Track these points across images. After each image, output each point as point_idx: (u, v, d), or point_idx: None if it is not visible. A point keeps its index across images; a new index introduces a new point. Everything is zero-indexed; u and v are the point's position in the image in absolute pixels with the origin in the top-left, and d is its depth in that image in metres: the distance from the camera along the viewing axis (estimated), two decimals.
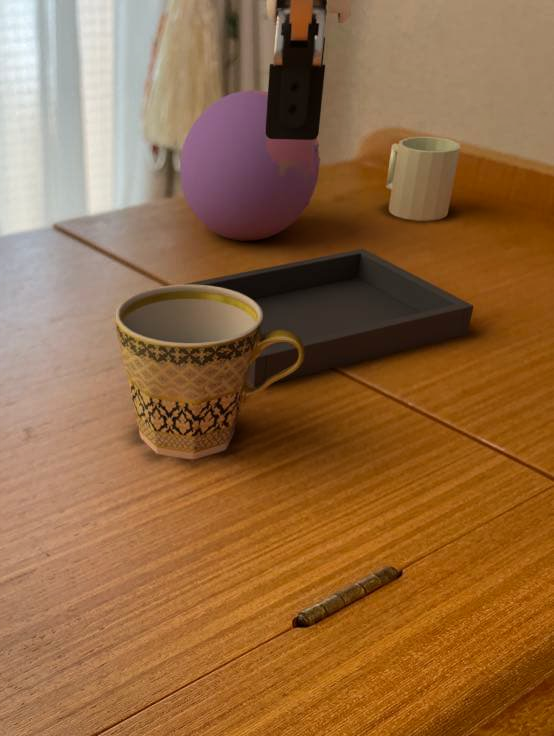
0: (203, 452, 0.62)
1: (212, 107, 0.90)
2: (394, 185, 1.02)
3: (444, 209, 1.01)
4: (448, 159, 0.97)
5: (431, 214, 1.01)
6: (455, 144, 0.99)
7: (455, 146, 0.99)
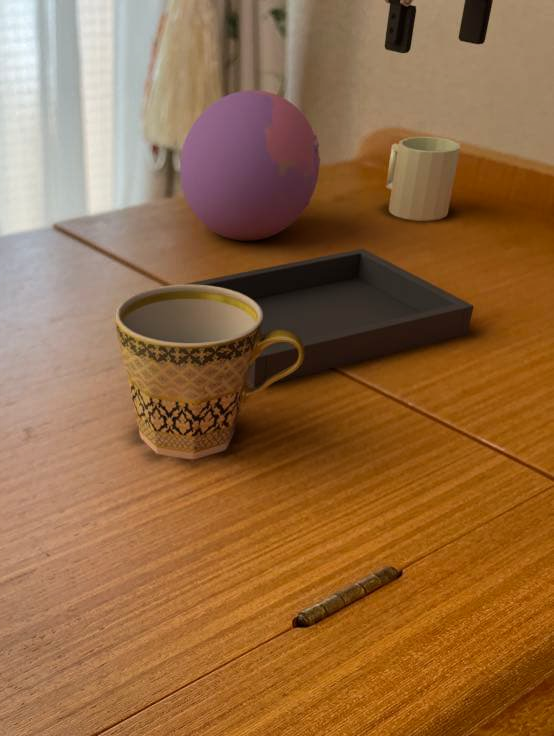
0: (203, 452, 0.62)
1: (212, 107, 0.90)
2: (394, 185, 1.02)
3: (444, 209, 1.01)
4: (448, 159, 0.97)
5: (431, 214, 1.01)
6: (455, 144, 0.99)
7: (455, 146, 0.99)
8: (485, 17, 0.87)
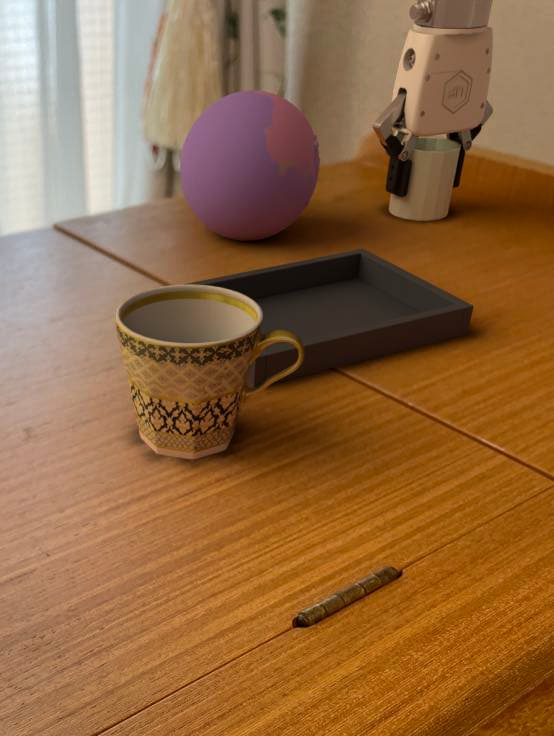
0: (203, 452, 0.62)
1: (212, 107, 0.90)
2: None
3: (444, 209, 1.01)
4: (448, 159, 0.97)
5: (431, 214, 1.01)
6: (455, 144, 0.99)
7: (455, 146, 0.99)
8: (459, 166, 1.01)
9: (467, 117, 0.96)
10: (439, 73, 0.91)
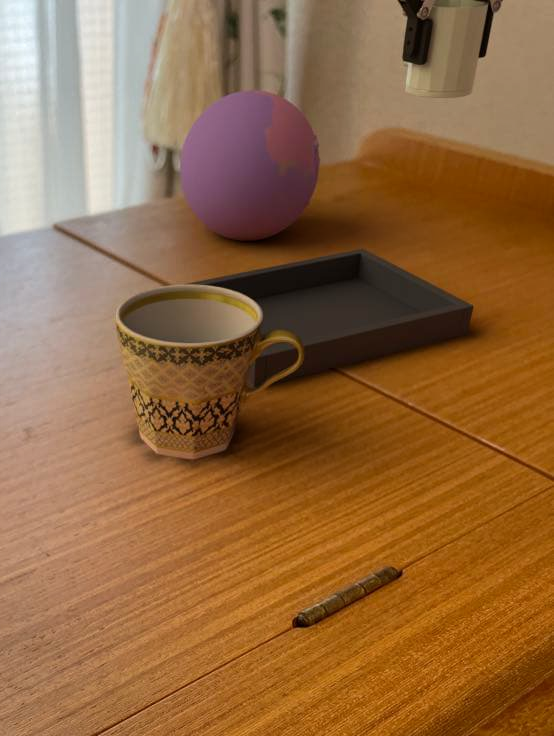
0: (203, 452, 0.62)
1: (212, 107, 0.90)
2: None
3: (469, 79, 0.89)
4: (474, 17, 0.85)
5: (454, 85, 0.89)
6: (482, 3, 0.87)
7: None
8: (486, 31, 0.89)
9: None
10: None
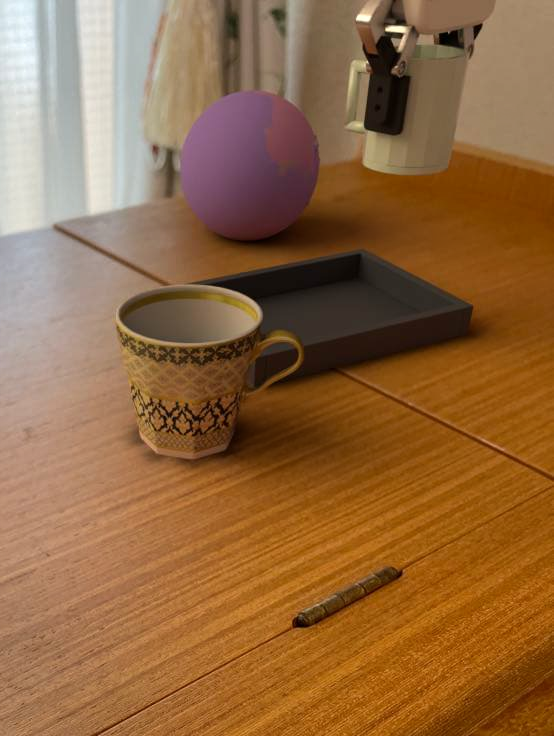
0: (203, 452, 0.62)
1: (212, 107, 0.90)
2: None
3: (450, 148, 0.68)
4: (459, 70, 0.64)
5: (436, 158, 0.67)
6: (455, 50, 0.66)
7: (455, 53, 0.66)
8: None
9: (480, 3, 0.63)
10: None
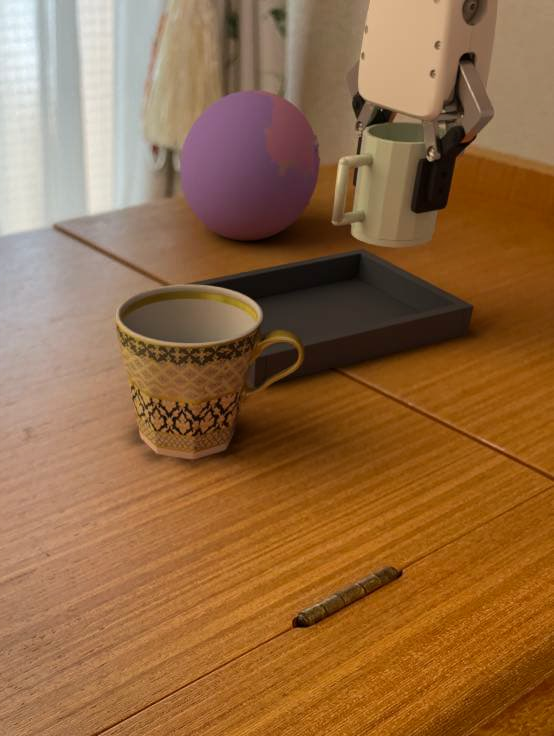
0: (203, 452, 0.62)
1: (212, 107, 0.90)
2: None
3: None
4: None
5: None
6: (396, 124, 0.71)
7: (397, 127, 0.71)
8: None
9: None
10: None
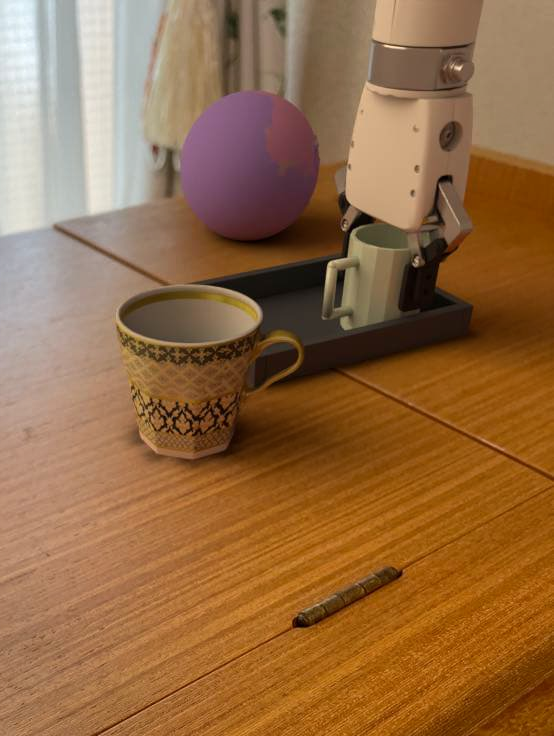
0: (203, 452, 0.62)
1: (212, 107, 0.90)
2: (396, 301, 0.74)
3: None
4: None
5: None
6: (382, 225, 0.76)
7: (383, 227, 0.76)
8: None
9: None
10: None
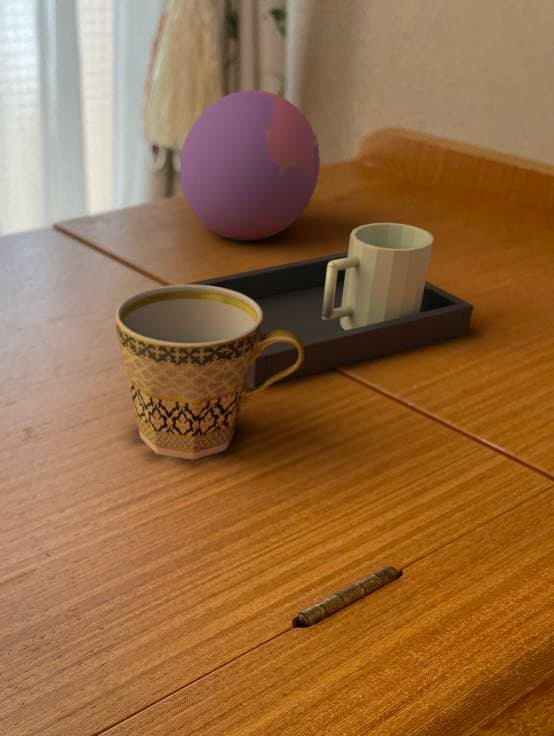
0: (203, 452, 0.62)
1: (212, 107, 0.90)
2: (396, 301, 0.74)
3: None
4: None
5: None
6: (382, 225, 0.76)
7: (383, 227, 0.76)
8: None
9: None
10: None
